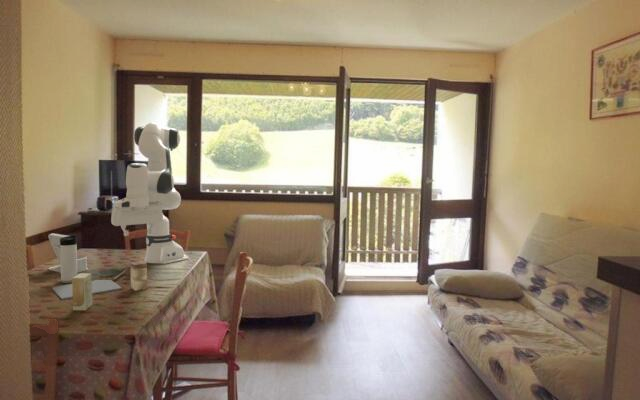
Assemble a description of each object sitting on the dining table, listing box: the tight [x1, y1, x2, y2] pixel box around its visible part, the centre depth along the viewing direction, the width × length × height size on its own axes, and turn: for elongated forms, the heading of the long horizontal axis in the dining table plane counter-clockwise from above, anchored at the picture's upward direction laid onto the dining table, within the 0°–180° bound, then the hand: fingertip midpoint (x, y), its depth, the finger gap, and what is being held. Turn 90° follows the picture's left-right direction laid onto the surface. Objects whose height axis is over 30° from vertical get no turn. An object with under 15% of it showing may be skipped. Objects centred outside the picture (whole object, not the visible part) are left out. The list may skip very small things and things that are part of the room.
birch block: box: [130, 260, 148, 291], centre depth 177 cm, size 5×5×11 cm
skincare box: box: [71, 272, 93, 311], centre depth 153 cm, size 6×4×12 cm
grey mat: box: [51, 279, 123, 301], centre depth 175 cm, size 22×18×1 cm
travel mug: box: [59, 235, 78, 284], centre depth 183 cm, size 6×7×20 cm
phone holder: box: [47, 233, 89, 274], centre depth 201 cm, size 17×10×18 cm, turn 64°
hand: (138, 234), depth 175 cm, fingers open, 8 cm apart
